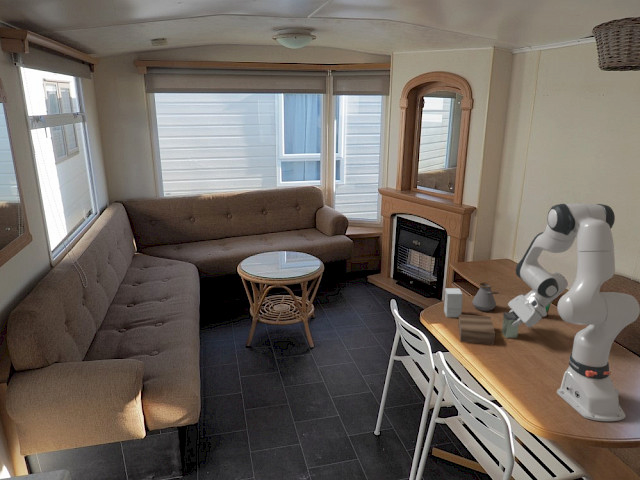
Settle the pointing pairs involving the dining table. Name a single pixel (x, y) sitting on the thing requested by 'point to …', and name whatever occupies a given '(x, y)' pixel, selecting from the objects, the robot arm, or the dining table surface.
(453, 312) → the supplement box
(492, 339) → the walnut box
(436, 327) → the dining table surface
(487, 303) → the coffee pot
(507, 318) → the sage tea tin
